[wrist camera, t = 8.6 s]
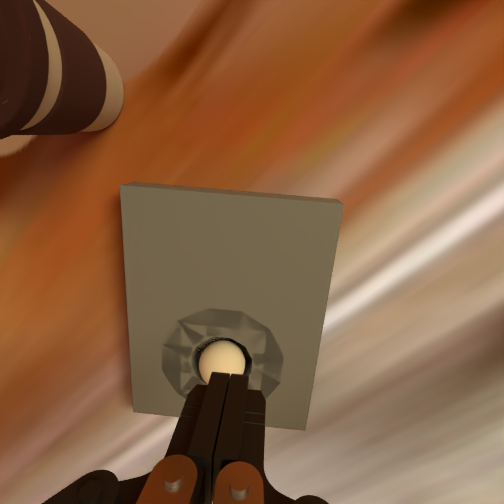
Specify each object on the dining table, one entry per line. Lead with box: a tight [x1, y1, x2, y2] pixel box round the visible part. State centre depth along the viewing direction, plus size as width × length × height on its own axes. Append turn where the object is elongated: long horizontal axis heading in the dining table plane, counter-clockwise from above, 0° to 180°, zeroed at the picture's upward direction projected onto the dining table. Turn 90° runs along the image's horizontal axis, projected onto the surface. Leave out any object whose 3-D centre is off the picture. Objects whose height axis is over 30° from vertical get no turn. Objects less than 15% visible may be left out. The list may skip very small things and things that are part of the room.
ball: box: [199, 340, 245, 384], centre depth 33 cm, size 5×5×5 cm
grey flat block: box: [120, 182, 344, 431], centre depth 32 cm, size 20×26×3 cm
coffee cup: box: [0, 0, 124, 139], centre depth 20 cm, size 10×10×15 cm
